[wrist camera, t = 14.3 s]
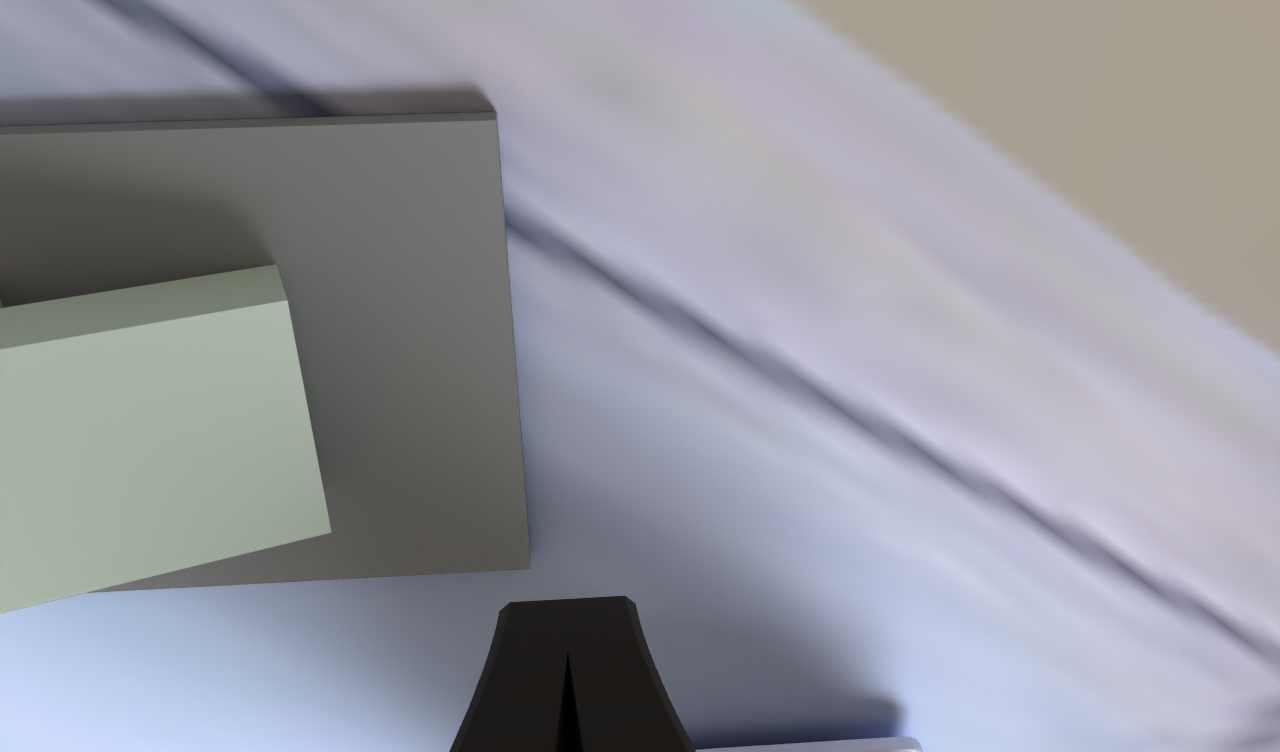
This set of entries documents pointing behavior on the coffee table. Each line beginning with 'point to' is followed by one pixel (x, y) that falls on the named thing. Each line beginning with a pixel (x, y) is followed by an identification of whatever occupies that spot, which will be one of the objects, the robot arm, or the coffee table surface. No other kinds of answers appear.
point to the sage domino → (151, 434)
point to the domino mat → (317, 306)
